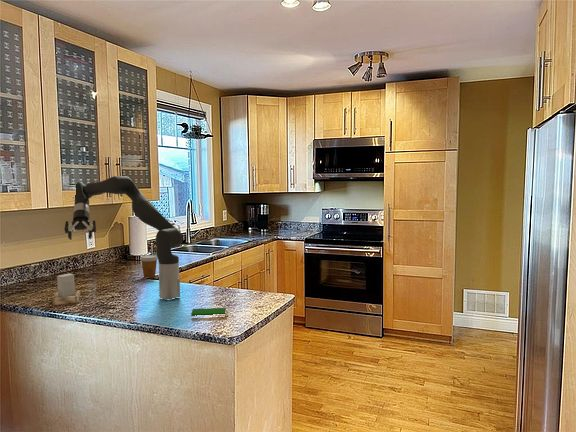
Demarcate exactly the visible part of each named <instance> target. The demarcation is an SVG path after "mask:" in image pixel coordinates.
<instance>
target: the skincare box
mask: <svg viewBox="0 0 576 432" xmlns="http://www.w3.org/2000/svg"><path fill="white" fill-rule="evenodd" d="M56 284H57V286H56V287H57V292H58V297H69V296H75V295H76V286H75V274H74V273H65V274H60V275H59V274H58V275H56Z"/></svg>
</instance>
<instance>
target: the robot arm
mask: <svg viewBox="0 0 576 432" xmlns="http://www.w3.org/2000/svg"><path fill="white" fill-rule="evenodd" d="M77 182H78V183H77ZM77 182H76V183H77V184H76V195H75V200H74V206H73V214H72V221H71V222H70V221H68V220H67V221H65V225H64V233H65V234H67V237H68V240H72V237H73V236H72V235H73V233H75V232H76V231H81V230H82V231H85V230H86V231H87V232H88V240H91V238H93V233H96V232H97V224H96V222H97V221H96V220H92V221H90V214H91V213H90V199H91V198H92V197H94V196H100V195H103V194H114V195H126V196H127V197H128V198H129V199H130V200H131V209H132V211H133V214H134V215H135V216H136V217H137V218H138V219H139V220H140V221H141V222H142V223H144V224H145V225H147V226H149V227H152V228H153V229H156V230H157V233H156V235H155V248H156V256H157V258H158V259H157V261H158V287H159V288H158V289H159V290H158V291H159V292H158V293H159V294H158V296H159V297H160V298H162V299H172V298H176V297H180V298H181V282H180V281H181V279H180V262H179V261H180V258H179V255H176V254H173V253H172V249H173V248H177V247H181V245H182V243H183V241H184V240H183V235H182V233H181V231H180V230H179V229H178V228H177V227H176V226H175V225H173V224H172V223H171V222H170V221H169V220H168V219H166V218H165V216H163V214H161V212H160V211H159V210H158V209H157V208H156V207H155V205H153V203H152V202H151V201H150V200H149V199H147V197H146V196H145V195H144V194H143V192H141V190H140V189H139V188H138V186H137V185H136V183H134V181H133V180H132V178H130V177H129V176H125V175H116V176H115V175H114V176H113V175H112V176H111V177H109V178H107V179H103V180H101V181H93V182H89V183H86V184H85V183H83V182H82V181H77ZM90 225H91V226H92V228H91V227H90ZM69 227H70V228H69Z"/></svg>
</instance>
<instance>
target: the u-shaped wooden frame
mask: <svg viewBox="0 0 576 432" xmlns="http://www.w3.org/2000/svg"><path fill="white" fill-rule="evenodd" d="M79 297H81V290H80V289H79V290H77V291H76V292H75V296H69V297H58V291H56V292H55V293H54V295H53V297H52V300H51V301H52V305H53V306H58V305H69V303H70V304H79V303H78V302H79V300H80V298H79Z"/></svg>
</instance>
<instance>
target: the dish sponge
mask: <svg viewBox="0 0 576 432" xmlns="http://www.w3.org/2000/svg"><path fill="white" fill-rule="evenodd" d="M225 311H226V312H227V308H226V307H219V308H218V307H217V308H193V309H192V311H191V313H190V315H191V316H195V315H196V316H197V315H213V314H225ZM191 316H190V317H191Z"/></svg>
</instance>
